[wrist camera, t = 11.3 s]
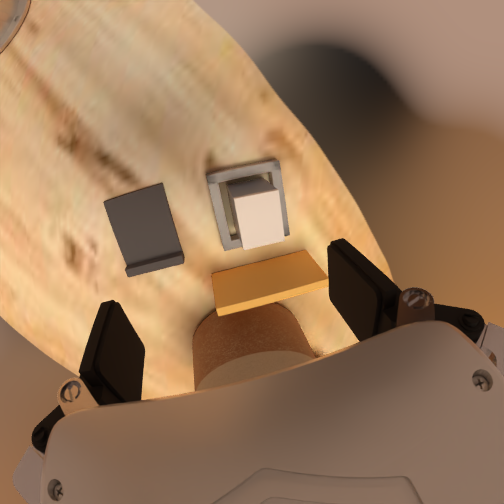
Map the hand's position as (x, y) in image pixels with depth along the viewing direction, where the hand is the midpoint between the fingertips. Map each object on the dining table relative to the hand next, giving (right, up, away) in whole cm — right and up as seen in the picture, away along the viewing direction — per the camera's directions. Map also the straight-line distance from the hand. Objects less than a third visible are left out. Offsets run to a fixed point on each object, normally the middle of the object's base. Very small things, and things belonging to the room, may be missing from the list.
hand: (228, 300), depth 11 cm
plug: (+1, +7, +19) cm, 20 cm away
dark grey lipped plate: (-11, +4, +17) cm, 21 cm away
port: (+1, +6, +19) cm, 20 cm away
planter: (0, -11, +28) cm, 30 cm away
